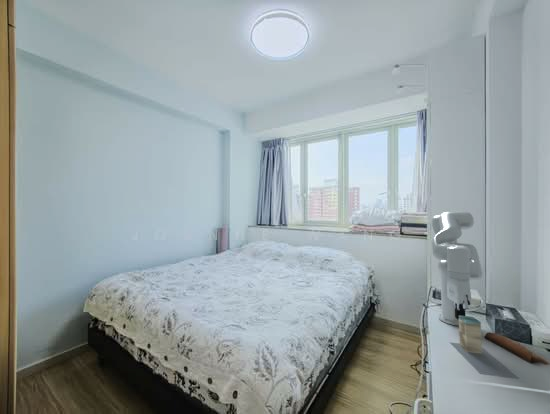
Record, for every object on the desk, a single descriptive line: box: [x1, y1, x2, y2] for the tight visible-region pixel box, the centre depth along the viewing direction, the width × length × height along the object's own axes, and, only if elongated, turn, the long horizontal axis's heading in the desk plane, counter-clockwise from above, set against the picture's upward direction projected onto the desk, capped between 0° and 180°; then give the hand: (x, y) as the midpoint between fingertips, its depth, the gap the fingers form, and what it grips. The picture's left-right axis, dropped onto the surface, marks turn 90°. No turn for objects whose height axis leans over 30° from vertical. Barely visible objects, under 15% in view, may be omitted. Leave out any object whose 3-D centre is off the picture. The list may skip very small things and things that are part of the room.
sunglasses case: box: [484, 332, 550, 366], centre depth 92 cm, size 18×7×7 cm
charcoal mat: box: [449, 341, 520, 380], centre depth 86 cm, size 20×11×1 cm, turn 167°
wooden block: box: [458, 315, 483, 354], centre depth 92 cm, size 5×5×12 cm
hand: (460, 318), depth 98 cm, fingers closed
